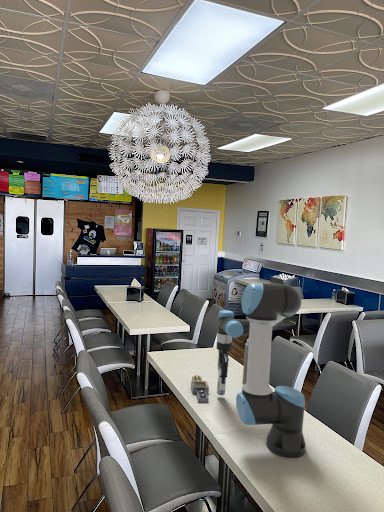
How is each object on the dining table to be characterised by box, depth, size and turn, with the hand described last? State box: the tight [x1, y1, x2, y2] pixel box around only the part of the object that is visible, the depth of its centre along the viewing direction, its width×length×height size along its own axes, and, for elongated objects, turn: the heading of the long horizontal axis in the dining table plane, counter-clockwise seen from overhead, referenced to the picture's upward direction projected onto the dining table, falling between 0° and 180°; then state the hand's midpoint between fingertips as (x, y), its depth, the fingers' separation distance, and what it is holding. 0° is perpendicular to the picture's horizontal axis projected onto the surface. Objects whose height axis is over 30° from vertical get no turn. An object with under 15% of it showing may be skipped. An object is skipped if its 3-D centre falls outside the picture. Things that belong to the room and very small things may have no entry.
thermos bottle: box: [241, 338, 249, 385], centre depth 216 cm, size 8×8×28 cm
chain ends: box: [190, 374, 210, 403], centre depth 204 cm, size 27×8×4 cm, turn 7°
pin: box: [216, 362, 227, 396], centre depth 196 cm, size 5×5×15 cm
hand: (221, 387), depth 196 cm, fingers closed on pin, 4 cm apart
